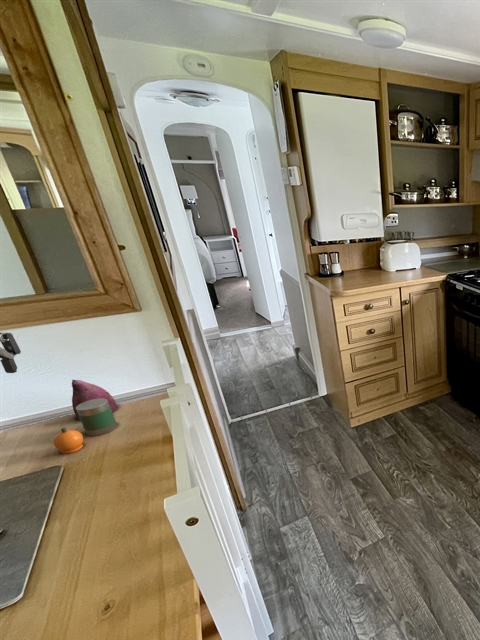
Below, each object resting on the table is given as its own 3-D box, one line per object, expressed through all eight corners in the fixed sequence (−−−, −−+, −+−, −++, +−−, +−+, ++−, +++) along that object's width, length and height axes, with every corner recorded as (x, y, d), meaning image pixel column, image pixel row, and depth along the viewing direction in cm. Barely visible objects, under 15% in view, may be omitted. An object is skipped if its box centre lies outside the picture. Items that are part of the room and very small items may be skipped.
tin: (79, 435, 113) (68, 410, 110) (100, 422, 120) (90, 397, 116) (103, 436, 113) (92, 410, 110) (123, 423, 120) (114, 398, 116)
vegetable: (93, 430, 121) (64, 397, 112) (72, 419, 124) (43, 387, 115) (127, 408, 129) (103, 376, 120) (107, 399, 132) (82, 366, 122)
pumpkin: (51, 455, 105) (41, 434, 102) (71, 442, 110) (62, 422, 107) (72, 455, 105) (63, 434, 102) (91, 442, 110) (83, 422, 108)
